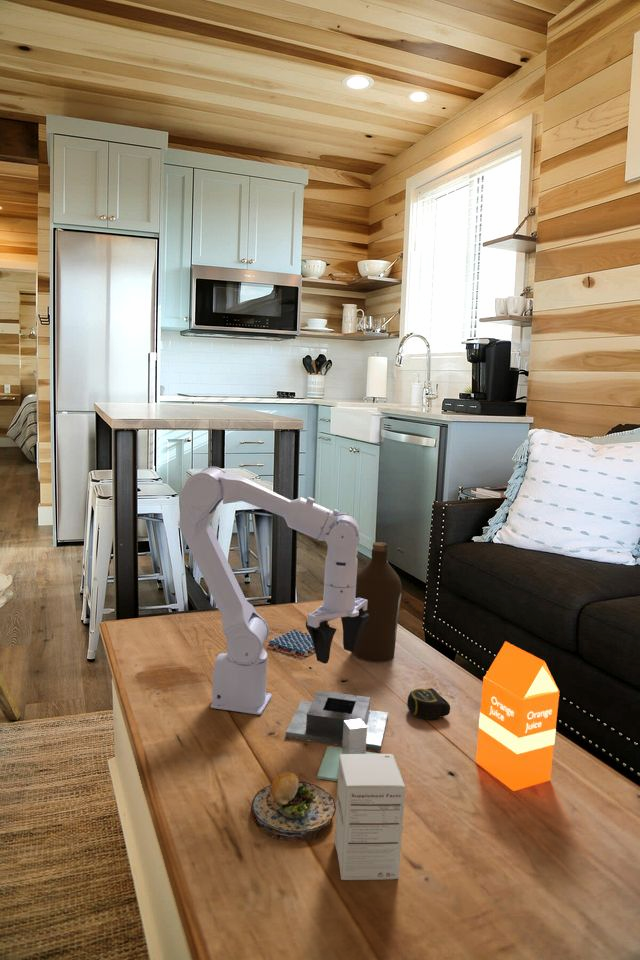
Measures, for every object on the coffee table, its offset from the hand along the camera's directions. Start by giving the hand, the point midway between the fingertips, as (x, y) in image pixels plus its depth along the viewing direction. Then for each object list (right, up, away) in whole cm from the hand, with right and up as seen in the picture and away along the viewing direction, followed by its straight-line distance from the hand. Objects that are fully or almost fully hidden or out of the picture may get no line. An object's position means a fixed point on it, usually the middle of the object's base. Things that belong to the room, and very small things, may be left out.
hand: (336, 655), depth 128 cm
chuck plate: (0, -11, -5) cm, 12 cm away
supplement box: (+3, -17, -38) cm, 42 cm away
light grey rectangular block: (+2, -13, -18) cm, 22 cm away
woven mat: (-8, -6, +31) cm, 33 cm away
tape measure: (+17, -11, +3) cm, 21 cm away
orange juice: (+28, -15, -16) cm, 35 cm away
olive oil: (+9, -7, +29) cm, 31 cm away
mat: (+2, -13, -17) cm, 22 cm away
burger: (-7, -15, -30) cm, 34 cm away
